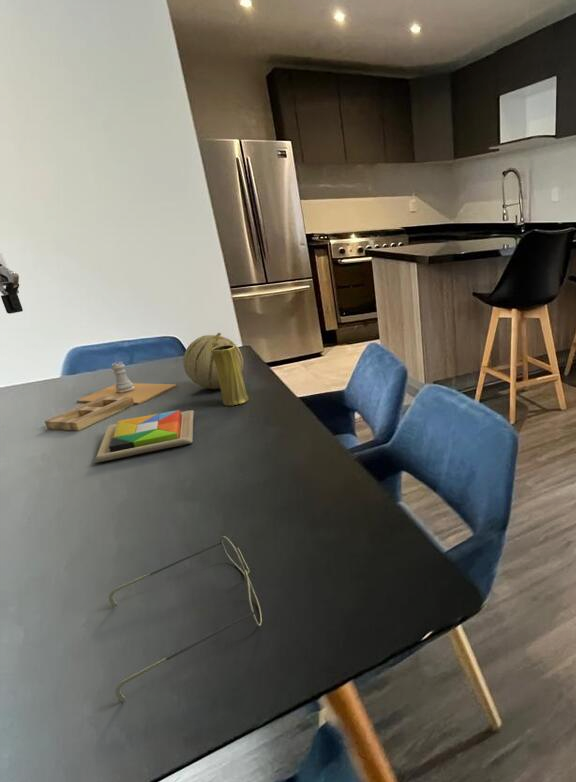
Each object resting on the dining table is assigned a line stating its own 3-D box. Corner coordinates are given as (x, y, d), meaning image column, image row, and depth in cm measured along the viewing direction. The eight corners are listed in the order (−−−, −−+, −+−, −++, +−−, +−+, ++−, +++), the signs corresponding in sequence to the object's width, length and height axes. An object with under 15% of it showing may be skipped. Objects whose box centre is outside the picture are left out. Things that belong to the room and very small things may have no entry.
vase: (218, 403, 124) (204, 349, 119) (239, 396, 129) (227, 343, 123) (232, 408, 121) (218, 352, 116) (253, 399, 126) (241, 345, 120)
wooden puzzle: (94, 467, 95) (87, 451, 94) (111, 431, 112) (106, 417, 110) (192, 446, 102) (188, 431, 100) (195, 415, 118) (191, 401, 116)
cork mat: (77, 402, 132) (76, 400, 132) (120, 384, 144) (119, 382, 144) (139, 404, 127) (138, 402, 127) (177, 386, 140) (177, 384, 140)
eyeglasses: (272, 628, 56) (263, 594, 54) (119, 704, 48) (102, 667, 46) (237, 556, 68) (229, 526, 66) (111, 607, 60) (98, 574, 58)
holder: (47, 429, 115) (44, 421, 114) (106, 403, 130) (103, 396, 129) (78, 430, 113) (75, 422, 112) (134, 404, 128) (132, 397, 127)
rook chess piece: (119, 394, 134) (109, 366, 131) (114, 391, 137) (105, 364, 134) (137, 390, 137) (128, 362, 134) (132, 386, 140) (123, 359, 137)
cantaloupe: (184, 388, 137) (169, 336, 132) (236, 375, 146) (224, 325, 141) (201, 401, 127) (186, 344, 121) (256, 385, 136) (245, 332, 130)
